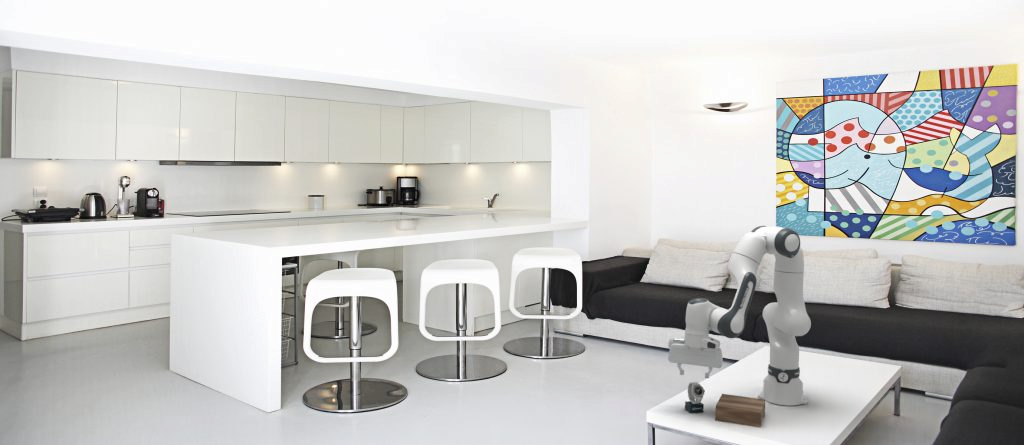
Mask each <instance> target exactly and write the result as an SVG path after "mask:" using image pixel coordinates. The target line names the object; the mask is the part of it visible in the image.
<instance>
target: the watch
mask: <svg viewBox="0 0 1024 445" xmlns="http://www.w3.org/2000/svg"><path fill="white" fill-rule="evenodd" d="M704 395H705V389H704V387H703V386H702V385H701V384H700V383H699V382H696V381H693V382H692V381H691V382H689V383H688V385H687V396H688V399H689V401H684V410H685V411H686V412H688V413H689V414H698V413H699V414H700V413H704V403H702V400H703V399H704Z"/></svg>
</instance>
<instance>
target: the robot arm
mask: <svg viewBox="0 0 1024 445" xmlns="http://www.w3.org/2000/svg"><path fill="white" fill-rule="evenodd" d="M766 254H769V255H773V256H774V258H775V260H774V261H775V262H774V270H773V271H774V272H773V287H772V288H773V292H774V294H775V297H776V301H777V302H770V303H769V302H768V304H767V305H765V306H764V308H763V310H762V318H763V320H764V322H765V325H766V329H767V335H768V336H767V337H768V341H769V364H768V366H767V375H766V376H765V377H764V378H763V381H762V382H763V385H762V391H761V392H759V394H758V395H757V399H764V400H765V402H768V403H771V404H774V405H778V406H779V405H780V406H789V407H790V406H798V405H807V404H808V403H809V402H808V399H807V398H806V397H805V395H804V383H803V381H802V380H801V379H800V373H801V369H800V366H799V364H800V346H799V345H798V343H797V340H796V337H803V336H805V335H806V334H807V333H809V331H810V329H811V326H812V323H811V322H812V321H811V318H810V316H809V314H808V312H807V308H806V304H805V298H804V274H805V259H804V252H803V248H802V247H801V237H800V235H799V234H798V232H797V231H795V230H793V229H792V228H787V227H781V226H773V225H772V226H771V225H770V226H769V225H760V226H756V227H754V228H753V229H752V230H751V231H750V232H745V234H744V235H743V236H742V237H741V238H740V239H739V241H738V243H737V244H736V246H735V247H734V249H733V251H732V253H731V256H730V257H729V259H728V262H727V272H728V274H729V276H730V277H731V278H732V279H733V280H734V281H735V283H736V288H737V290H736V293H735V296H734V298H733V300H732V304H731V307H730V308H728V309H727V308H724V307H720V306H719V305H716V304H714V303H712V302H710V301H709V299H707V298H706V297H705V298H703V297H696V298H693V299H690V300H689V301H688V303H687V306H686V310H685V329H684V339H683V338H674V337H673V338H672V339H669V340H668V343H667V344H668V345H667V346H668V349H669V351H668V358H667V360H668V361H669V363H674V364H677V368H678V370H679V375H680V376H684V375H685V369H683V368H682V365H691V366H698V367H706V368H707V367H708V371H707V372H705V373H704V378H705V379H710V374H711V372H712V371H713V369H714V368H715V369H721V368H722V367H723V363H724V362H723V361H724V360H723V359H724V358H723V351H722V349H721V342H720V340H718V339H715V338H713V337H712V336H709V335H710V334H709V333H710V331H711V332H712V331H713V332H714V333H717V334H719V335H722V336H723V337H726V338H728V339H735V338H738V337H739V336H740V335H741V334H742V333H743V332H744V330H745V326H746V321H747V315H748V311H749V308H750V306H751V303H752V299H753V297H754V294H755V290H756V287H757V282H758V280H757V272H758V269H759V267H760V265H761V263H762V261H763V258H764V256H765V255H766Z"/></svg>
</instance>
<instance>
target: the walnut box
mask: <svg viewBox="0 0 1024 445" xmlns="http://www.w3.org/2000/svg"><path fill="white" fill-rule="evenodd" d="M714 414H715V415H714V416H715V418H714V420H715V422H716V421H717V422H722V423H728V424H736V425H743V426H750V427H756V428H761V427H762V425H763V424H762V423H763V420H764V418H765V415H766V400H764V399H761V398H758V397H756V398H755V397H749V396H740V395H735V394H728V393H722V394H721V395H720V396H719V399H718V401H717V402H716V404H715V413H714Z"/></svg>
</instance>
